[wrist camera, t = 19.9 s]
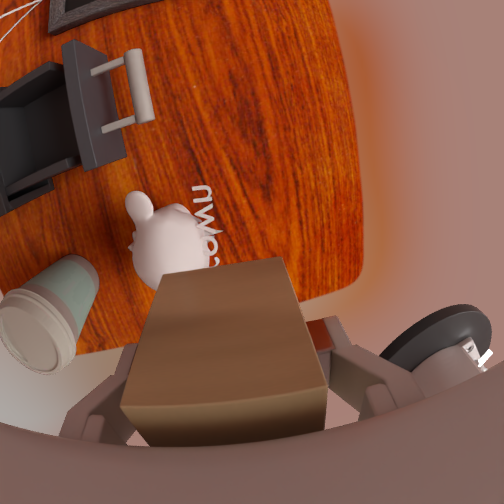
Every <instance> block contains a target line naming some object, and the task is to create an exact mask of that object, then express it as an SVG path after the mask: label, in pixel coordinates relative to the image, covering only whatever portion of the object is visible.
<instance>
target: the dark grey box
mask: <svg viewBox="0 0 504 504" xmlns="http://www.w3.org/2000/svg"><path fill="white" fill-rule="evenodd" d="M6 88H7V87H0V92H1V91H3V90H4V89H6ZM54 189H55V188H54V185H53V181H52V178H49V179H47V180H44V181H42V182H40V183H37V184H35V185H33V186H30V187H28V188H26V189H23V190H21V191H19V192H16V193H14V194H12V195H10V196H8V197H7V194H6V191H5V187H4V184H3V180H2V176H1V172H0V216H2V215H4V214H7V213H8V212H10V211H12V210H14V209H16V208H18V207H20V206H21V205H23V204H25V203H27V202H29V201H31V200H33V199H35V198H37V197H39V196H41V195H43V194H45V193H48V192H50V191H52V190H54Z"/></svg>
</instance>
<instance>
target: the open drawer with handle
mask: <svg viewBox="0 0 504 504" xmlns="http://www.w3.org/2000/svg"><path fill="white" fill-rule="evenodd" d="M61 48H62V58H63V65H62V64H58V63H54V62H50V61H49V62H47V63H45V64H43V65H42V66H40V67H38V68H36V69H35V70H33V71H32V72H30V73H28V74H27V75H25V76H24V77H22V78H20V79H19V80H17V81H16V82H14V83H13V84H11V85H10V86H9V87H7V88H6V89H4V90H3V91H1V92H0V172H1V176H2V180H3V184H4V187H5V191H6V194H7V197H8V196H10V195H12V194H14V193H16V192H19V191H21V190H23V189H26V188H28V187H30V186H33V185H35V184H37V183H40V182H42V181H44V180H47V179H49V178H51V177H53V176H56V175H58V174H61V173H63V172H65V171H68V170H70V169H73V168H75V167H78V166H80V165H83V169H84V172H86V171H89V170H92V169H94V168H97V167H100V166H102V165H105V164H108V163H111V162H114V161H116V160H119V159H122V158H125V157H127V154H126V150H125V146H124V142H123V137H122V133H121V128H122V127H125V126H128V125H131V124H134V123H137V124H143V123H147V122H150V121H153V120H155V116H154V111H153V107H152V102H151V97H150V92H149V87H148V82H147V77H146V71H145V66H144V60H143V55H142V50H141V49H132V50H129V51H127V52H125V53H124V57H120V58H118V59H115V60H112V61H110V62H108V60H107V55H105V54H103V53H101V52H99V51H97V50H95V49H93V48H91V47H89V46H87V45H85V44H83V43H81V42H79V41H77V40H75V39H73V40H71V41H69V42H67V43H65V44H63V45H62V46H61ZM122 65H126V71H127V76H128V82H129V87H130V92H131V97H132V102H133V107H134V112H135V115H132V116H129V117H127V118H124V119H121V120H119V119H118V115H117V110H116V105H115V100H114V95H113V89H112V84H111V78H110V72H109V70H112V69H114V68H117V67H120V66H122Z"/></svg>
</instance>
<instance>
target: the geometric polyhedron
mask: <svg viewBox="0 0 504 504" xmlns="http://www.w3.org/2000/svg"><path fill="white" fill-rule="evenodd" d="M38 1H39V2H38ZM41 1H42V0H36V1H34V2H31V3H29V4H26V5H24V6H22V7H19V8H17V9H15V10H13V11H10V12H8V13H6V14H4V15H2V16H0V18H2V17H4V16H6V15H8V14H11V13H13V12H15V11H17V10H19V9H21V8H24V7H26V6H28V5H31V4H33V3H36V2H38V3H37V4H36V5H34V6H33V7H32V8H31V9H30V10H29V11H28V12H27V13H26V14H25V15H24V16H23V17H22V18H21V19H20V20H19V21H18V22H17V23H16V24H15V25H14V26H13V27H12V28H11V29H10V30H9V31H8V32H7V33H6V34H5V35H4V36H3V37H2V39H3V38H4V37H5V36H6V35H7V34H8V33H9V32H10V31H11V30H12V29H13V28H14V27H15V26H16V25H17V24H18V23H19V22H20V21H21V20H22V19H23V18H24V17H25V16H26V15H27V14H28V13H29V12H30V11H31V10H32V9H33V8H34V7H35V6H37V5H38V4H39V3H40V2H41ZM2 39H1V40H0V42H1V41H2Z"/></svg>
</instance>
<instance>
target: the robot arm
mask: <svg viewBox="0 0 504 504" xmlns="http://www.w3.org/2000/svg"><path fill="white" fill-rule="evenodd" d="M306 324H307V327H308V330H309V333H310V336H311V338H312V341H313V344H314V347H315V350H316V353H317V355H318V358H319V361H320V364H321V367H322V370H323V373H324V376H325V379H326V382H327V385H328V388H330V389H331V390H332V391H333V392H334V393H336V394H337V395H338V396H339V397H341V398H342V399H343V400H344V401H346V402H347V403H348V404H349V405H351V406H352V407H353V408H354V409H356V410H357V411H358V412H360V415H359V419H358V422H354V423H351V424H347V425H343V426H339V427H335V428H331V429H326V430H322V431H317V432H313V433H308V434H303V435H298V436H292V437H286V438H280V439H274V440H267V441H260V442H251V443H242V444H232V445H219V446H200V447H145V446H128V445H127V444H126V442H127V440H128V439H129V438H130V437H131V435H132V434H133V433H134V432H135V430H136V429H135V427H134V426H133V425H132V423H131V422H130V421H129V419H128V418H127V417H126V415H125V414H124V413H123V411H122V410H121V408H120V403H121V399H122V395H123V392H124V389H125V385H126V382H127V378H128V375H129V372H130V368H131V365H132V362H133V359H134V356H135V352H136V349H137V346H138V343H133V344H127V345H125V347H124V349H123V352H122V354H121V358H120V360H119V363H118V366H117V368H116V371H115V374H114V375H110V376H109V377H108V378H107V379H106V380H104V381H103V382H102V383H101V384H100V385H98V386H97V387H96V388H95V389H94V390H93V391H91V392H90V393H89V394H88V395H87V396H85V397H84V398H83V399H82V400H81V401H79V402H78V403H77V404H76V405H75V406H74V407H72V408H71V409H70V410H69V411H68V412H67V415H66V417H65V420H64V423H63V426H62V428H61V431H60V434H59V436H53V435H48V434H43V433H39V432H34V431H30V430H26V429H22V428H18V427H15V426H11V425H8V424H4V423H1V422H0V504H504V361H502V362H500V363H498V364H497V365H495V366H493V367H491V368H490V369H487V368H484V365H483V363H484V362H485V361H486V360H487V359H488V358H489V357H490V356H491V354H492V352H491V351H490V350H488V351H487V352H486V353H485V355H484V356H483V357H482V358H481V357H480V355H479V353H478V350H477V348H476V345H475V343H474V341H473V340H472V338H471V337H468V338H466V339H464V340H463V341H461V342H460V343H458V344H456V345H454V346H450V347H447V348H445V349H442V350H440V351H438V352H436V353H435V354H433V355H431V356H430V357H428V358H427V359H426V360H424V361H423V362H422V363H421V364H420V365H418V366H417V367H416V368H415V369H414V370H413V371H412V372H409V371H407V370H405V369H403V368H401V367H399V366H397V365H395V364H393V363H391V362H389V361H387V360H385V359H383V358H381V357H379V356H377V355H375V354H374V353H372V352H369V351H368V350H366V349H364V348H362V347H360V346H358V345H352V344H351V342H350V340H349V338H348V336H347V334H346V332H345V330H344V328H343V326H342V324H341V322H340V321H339V318H338V317H337V316H331V317H326V318H322V319H319V320H314V321H308V322H306Z"/></svg>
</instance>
